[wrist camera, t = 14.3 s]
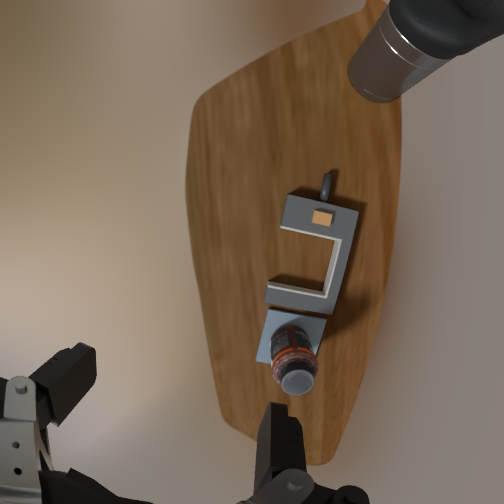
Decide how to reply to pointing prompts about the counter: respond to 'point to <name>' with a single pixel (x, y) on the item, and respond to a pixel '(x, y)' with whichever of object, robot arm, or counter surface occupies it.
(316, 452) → the counter surface
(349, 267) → the counter surface
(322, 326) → the coaster
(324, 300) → the grey c-shaped bracket
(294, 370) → the supplement bottle
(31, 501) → the robot arm
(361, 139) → the counter surface
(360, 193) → the counter surface
